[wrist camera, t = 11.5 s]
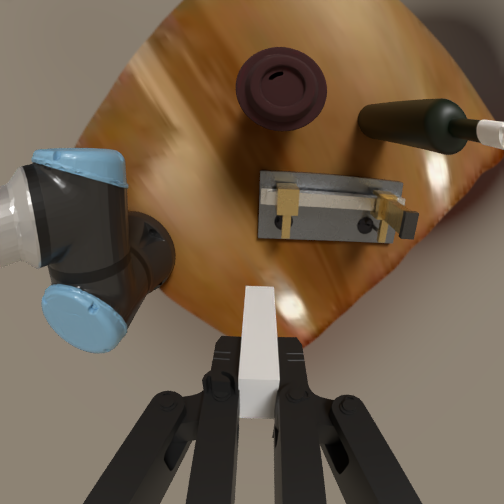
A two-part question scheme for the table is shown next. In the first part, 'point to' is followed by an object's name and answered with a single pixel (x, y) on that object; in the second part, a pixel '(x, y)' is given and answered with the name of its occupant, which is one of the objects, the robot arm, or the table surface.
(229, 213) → the table surface
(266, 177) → the trammel plate
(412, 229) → the sliding leg
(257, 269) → the table surface
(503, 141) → the wine bottle
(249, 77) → the coffee cup
